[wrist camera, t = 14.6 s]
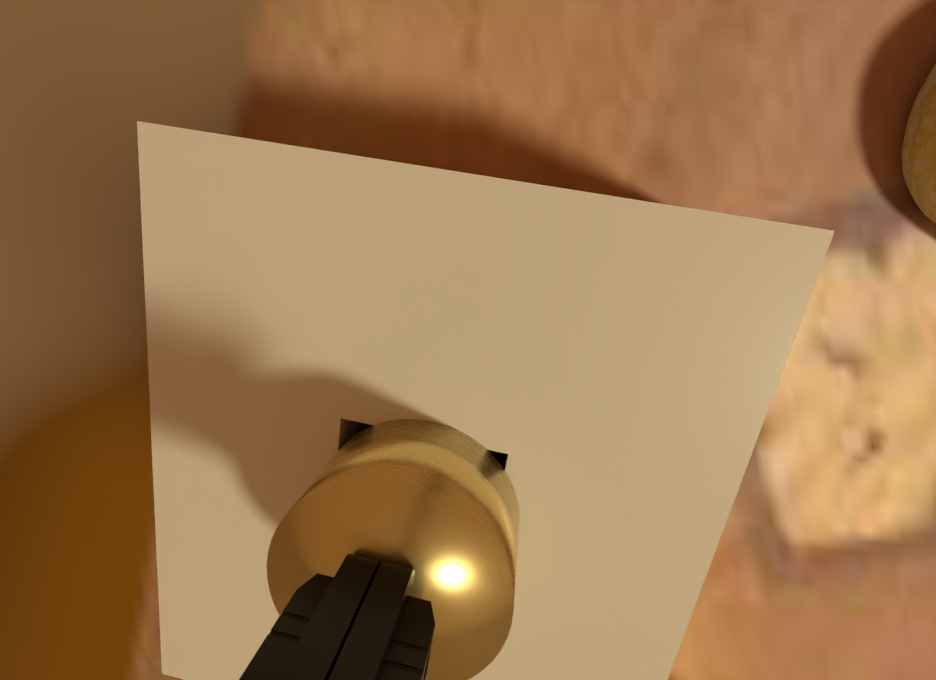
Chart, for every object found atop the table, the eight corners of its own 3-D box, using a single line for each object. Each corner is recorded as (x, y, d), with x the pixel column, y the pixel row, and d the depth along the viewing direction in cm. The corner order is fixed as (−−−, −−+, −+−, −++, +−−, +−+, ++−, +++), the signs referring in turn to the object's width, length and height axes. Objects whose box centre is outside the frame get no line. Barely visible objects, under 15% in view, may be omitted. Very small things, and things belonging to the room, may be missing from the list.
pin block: (320, 158, 21) (136, 120, 12) (691, 218, 19) (835, 231, 10) (299, 503, 26) (161, 673, 17) (590, 572, 25) (621, 802, 15)
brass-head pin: (415, 321, 21) (270, 456, 10) (539, 345, 21) (536, 516, 9) (401, 432, 23) (263, 657, 12) (516, 457, 22) (490, 719, 11)
